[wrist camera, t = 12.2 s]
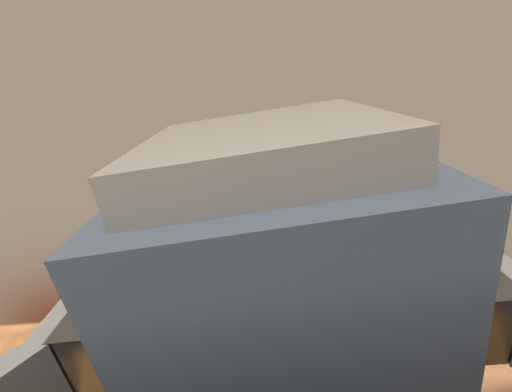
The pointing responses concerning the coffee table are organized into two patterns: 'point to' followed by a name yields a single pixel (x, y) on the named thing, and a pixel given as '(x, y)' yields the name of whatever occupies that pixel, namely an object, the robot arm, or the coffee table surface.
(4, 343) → the coffee table surface
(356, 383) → the tall gray box
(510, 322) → the robot arm
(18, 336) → the coffee table surface
